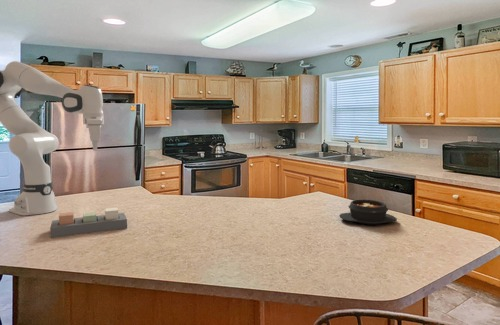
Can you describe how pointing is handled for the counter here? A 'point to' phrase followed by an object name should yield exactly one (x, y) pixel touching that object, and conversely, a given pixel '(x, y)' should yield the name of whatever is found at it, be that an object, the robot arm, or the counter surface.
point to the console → (87, 226)
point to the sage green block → (89, 217)
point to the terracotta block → (66, 218)
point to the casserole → (368, 212)
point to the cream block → (111, 213)
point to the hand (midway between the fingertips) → (95, 150)
